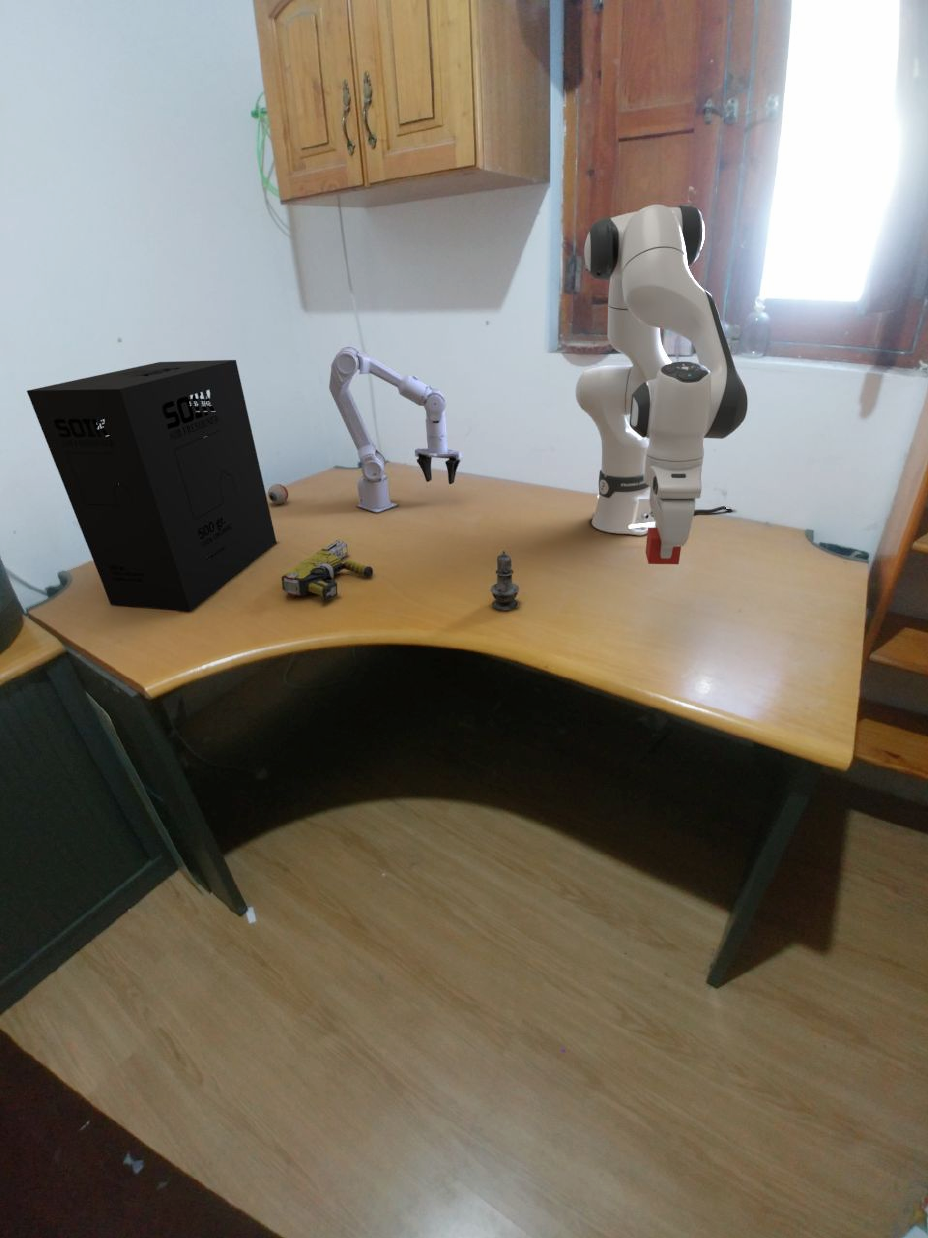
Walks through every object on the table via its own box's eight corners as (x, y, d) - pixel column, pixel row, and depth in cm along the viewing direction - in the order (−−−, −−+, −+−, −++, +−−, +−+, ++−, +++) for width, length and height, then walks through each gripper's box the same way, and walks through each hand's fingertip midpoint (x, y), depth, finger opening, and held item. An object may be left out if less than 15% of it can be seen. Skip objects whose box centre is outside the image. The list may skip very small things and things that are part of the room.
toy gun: (389, 548, 145) (334, 537, 149) (339, 588, 125) (277, 575, 129) (389, 566, 147) (335, 555, 151) (340, 608, 127) (279, 595, 131)
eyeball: (265, 505, 187) (261, 487, 184) (278, 499, 192) (274, 480, 189) (281, 507, 185) (277, 488, 182) (293, 500, 190) (290, 482, 187)
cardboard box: (190, 611, 129) (119, 389, 106) (110, 604, 133) (26, 390, 111) (276, 542, 160) (235, 359, 138) (209, 539, 165) (159, 361, 142)
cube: (645, 552, 109) (648, 527, 106) (674, 552, 108) (677, 527, 105) (648, 563, 104) (651, 538, 102) (678, 564, 104) (682, 538, 101)
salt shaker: (517, 611, 121) (517, 557, 115) (488, 610, 122) (486, 556, 116) (521, 598, 126) (520, 545, 120) (493, 596, 127) (491, 544, 121)
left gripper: (407, 437, 172) (412, 483, 178) (453, 440, 166) (455, 488, 173) (420, 431, 177) (423, 476, 184) (464, 434, 171) (466, 481, 178)
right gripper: (645, 453, 108) (638, 526, 115) (659, 492, 90) (650, 574, 97) (682, 453, 107) (672, 526, 114) (704, 491, 89) (691, 575, 96)
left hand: (440, 481), depth 179 cm, fingers open, 7 cm apart
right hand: (662, 549), depth 105 cm, fingers closed on cube, 5 cm apart
